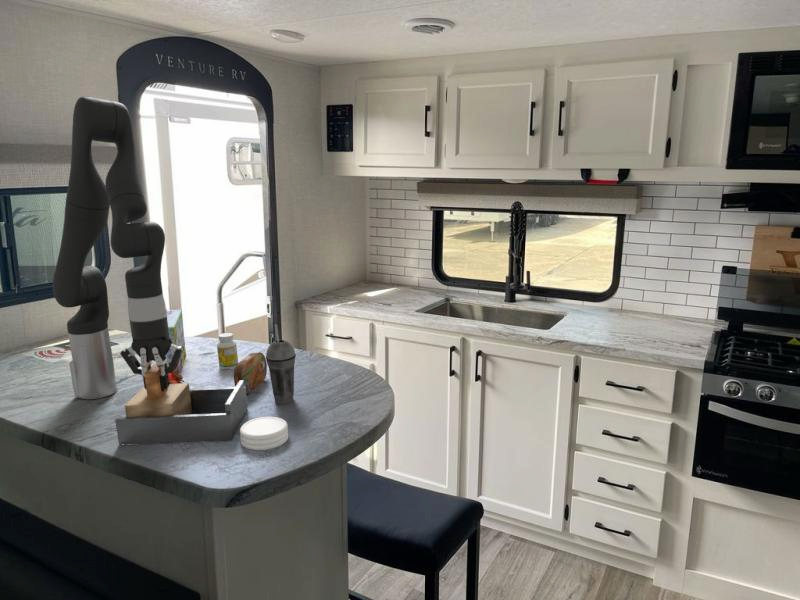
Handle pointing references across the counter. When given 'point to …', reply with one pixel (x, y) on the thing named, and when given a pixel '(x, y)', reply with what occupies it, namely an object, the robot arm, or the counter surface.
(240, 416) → the bay
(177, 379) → the dragon fruit
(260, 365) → the tin
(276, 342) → the beverage cup
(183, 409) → the wooden block with upright
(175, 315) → the snack box
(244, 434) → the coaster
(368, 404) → the counter surface
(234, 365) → the supplement bottle
